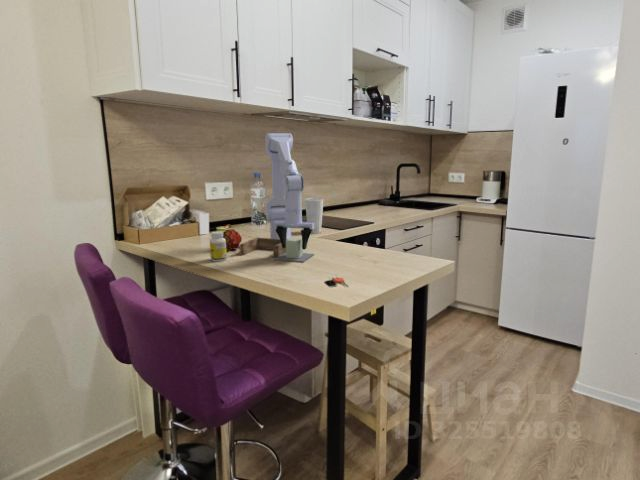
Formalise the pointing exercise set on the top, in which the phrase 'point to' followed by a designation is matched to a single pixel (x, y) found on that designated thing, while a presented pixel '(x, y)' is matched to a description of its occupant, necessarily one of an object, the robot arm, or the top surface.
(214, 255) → the supplement bottle
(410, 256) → the top surface
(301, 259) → the mat
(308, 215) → the cup
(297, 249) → the block
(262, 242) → the wooden u-shaped shelf
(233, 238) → the dragon fruit
